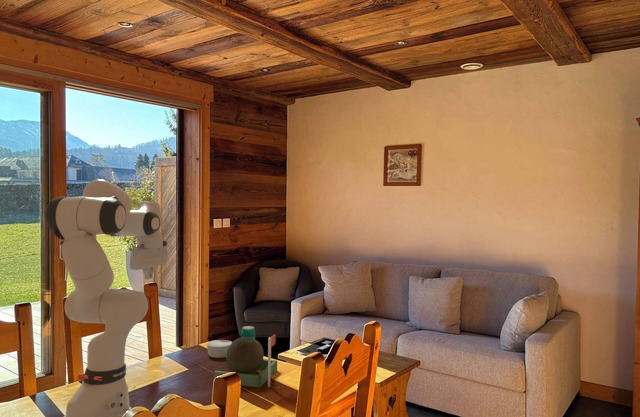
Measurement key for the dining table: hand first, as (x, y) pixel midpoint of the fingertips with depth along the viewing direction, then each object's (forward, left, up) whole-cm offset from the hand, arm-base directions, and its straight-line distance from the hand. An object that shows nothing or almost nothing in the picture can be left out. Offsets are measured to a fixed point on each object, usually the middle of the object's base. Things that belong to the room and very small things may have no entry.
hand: (148, 278), depth 194 cm
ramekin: (+31, -16, -37) cm, 51 cm away
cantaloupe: (+8, -37, -37) cm, 53 cm away
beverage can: (+24, -32, -37) cm, 55 cm away
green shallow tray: (+9, -39, -37) cm, 55 cm away
